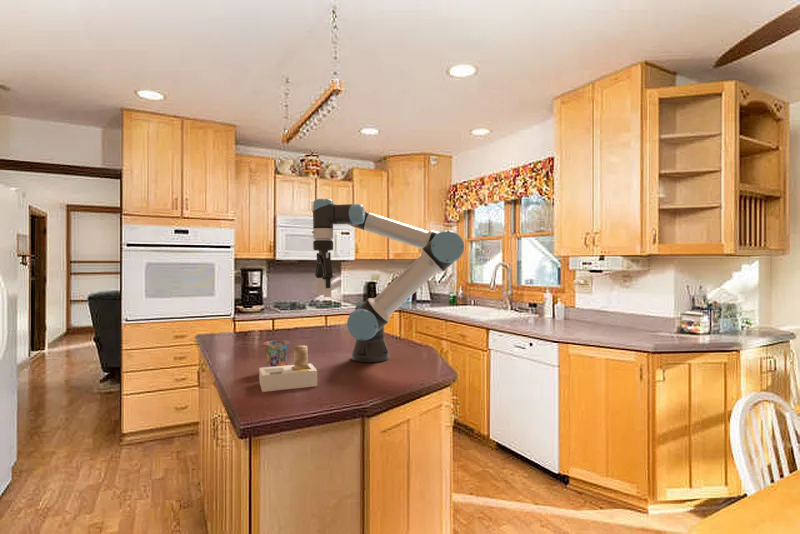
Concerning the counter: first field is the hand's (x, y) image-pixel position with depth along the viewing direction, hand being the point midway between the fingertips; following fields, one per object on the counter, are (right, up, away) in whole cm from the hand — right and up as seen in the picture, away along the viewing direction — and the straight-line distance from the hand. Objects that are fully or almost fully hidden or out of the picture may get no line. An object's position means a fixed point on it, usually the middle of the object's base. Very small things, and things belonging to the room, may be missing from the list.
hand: (323, 295), depth 175 cm
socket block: (-7, -27, -26) cm, 38 cm away
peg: (-3, -26, -25) cm, 36 cm away
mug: (-16, -27, -8) cm, 32 cm away
